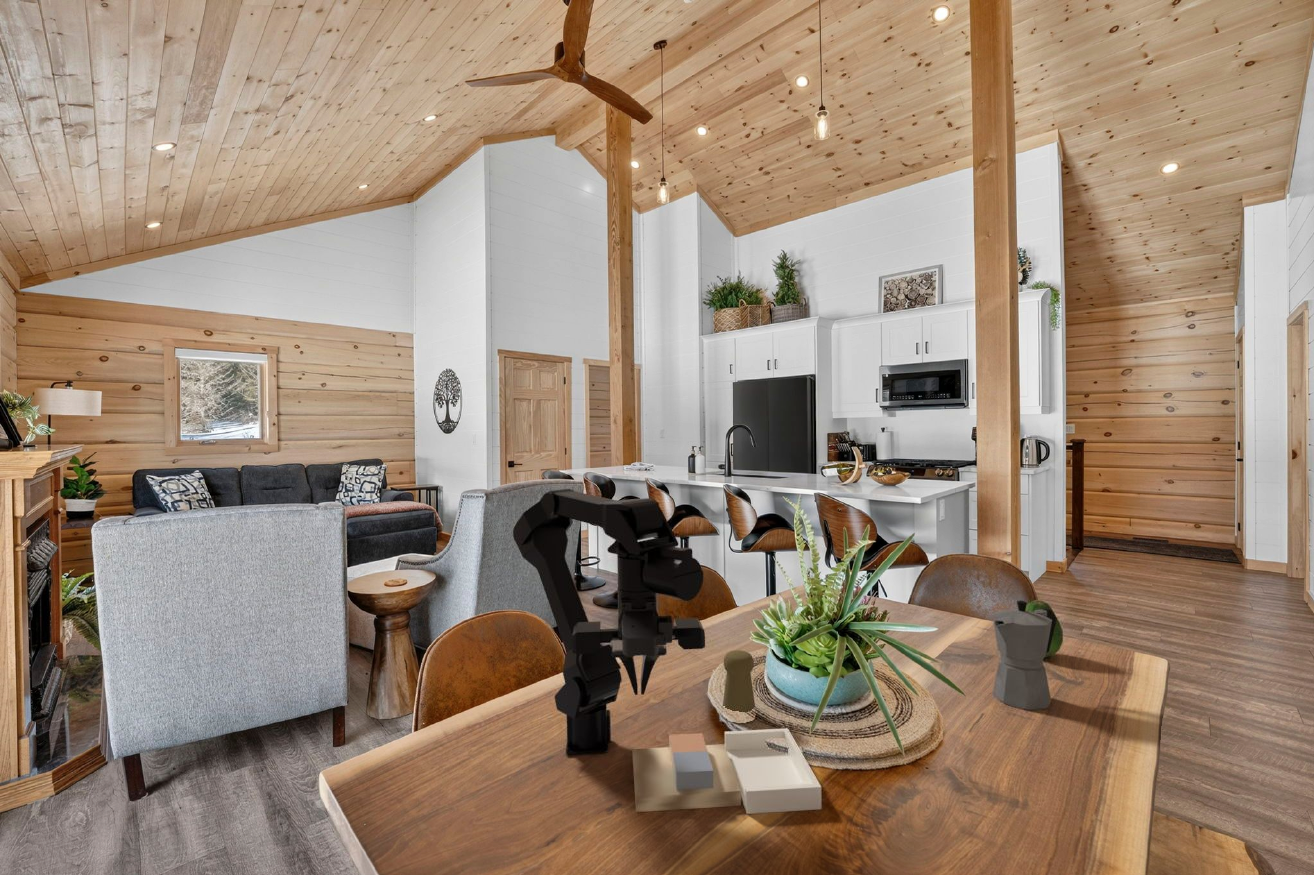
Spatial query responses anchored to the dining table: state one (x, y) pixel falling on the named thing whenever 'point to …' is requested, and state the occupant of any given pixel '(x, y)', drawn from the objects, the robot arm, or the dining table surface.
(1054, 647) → the avocado
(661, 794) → the board
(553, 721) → the dining table surface
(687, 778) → the grey-blue rounded block
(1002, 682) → the coffeepot
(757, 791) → the tray
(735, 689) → the cork
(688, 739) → the tile terracotta
